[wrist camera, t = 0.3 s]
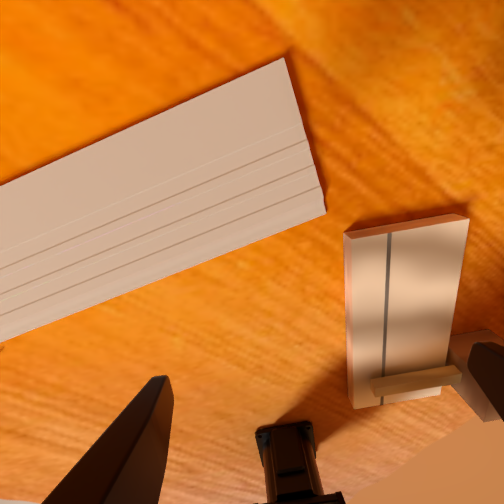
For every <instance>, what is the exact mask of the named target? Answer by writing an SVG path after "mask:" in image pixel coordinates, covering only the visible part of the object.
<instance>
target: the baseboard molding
mask: <svg viewBox="0 0 504 504" xmlns="http://www.w3.org/2000/svg"><path fill="white" fill-rule="evenodd" d="M323 199H324V196H323V192H322V189H321V186H320V183H319V179H318V176H317V173H316V168H315V165H314V162H313V159H312V155H311V152H310V147H309V143H308V140H307V138H306V134H305V131H304V127H303V124H302V119H301V115H300V112H299V109H298V105H297V102H296V98H295V95H294V91H293V88H292V84H291V81H290V77H289V74H288V70H287V67H286V63H285V60H284V57H283V58H281V59H279V60H277V61H274V62H272V63H270V64H268V65H266V66H263V67H261V68H259V69H257V70H255V71H252V72H250V73H248V74H246V75H244V76H241V77H239V78H237V79H235V80H233V81H230V82H228V83H226V84H224V85H222V86H219V87H217V88H215V89H213V90H211V91H208V92H206V93H204V94H202V95H200V96H197V97H195V98H193V99H191V100H189V101H186V102H184V103H182V104H180V105H178V106H175V107H173V108H171V109H169V110H167V111H164V112H162V113H160V114H158V115H156V116H154V117H151V118H149V119H147V120H145V121H143V122H140V123H138V124H136V125H134V126H132V127H129V128H127V129H125V130H123V131H121V132H118V133H116V134H114V135H112V136H110V137H107V138H105V139H103V140H101V141H99V142H96V143H94V144H92V145H90V146H88V147H85V148H83V149H81V150H79V151H77V152H74V153H72V154H70V155H68V156H66V157H63V158H61V159H59V160H57V161H55V162H52V163H50V164H48V165H46V166H44V167H41V168H39V169H37V170H35V171H33V172H30V173H28V174H26V175H24V176H22V177H19V178H17V179H15V180H13V181H11V182H8V183H6V184H4V185H2V186H0V342H3V341H5V340H8V339H10V338H13V337H15V336H18V335H21V334H23V333H26V332H28V331H31V330H33V329H36V328H38V327H41V326H43V325H46V324H48V323H51V322H53V321H56V320H58V319H61V318H64V317H66V316H69V315H71V314H74V313H76V312H79V311H81V310H84V309H86V308H89V307H91V306H94V305H96V304H99V303H101V302H104V301H107V300H109V299H112V298H114V297H117V296H119V295H122V294H124V293H127V292H129V291H132V290H134V289H137V288H139V287H142V286H144V285H147V284H149V283H152V282H155V281H157V280H160V279H162V278H165V277H167V276H170V275H172V274H175V273H177V272H180V271H182V270H185V269H187V268H190V267H192V266H195V265H198V264H200V263H203V262H205V261H208V260H210V259H213V258H215V257H218V256H220V255H223V254H225V253H228V252H230V251H233V250H235V249H238V248H241V247H243V246H246V245H248V244H251V243H253V242H256V241H258V240H261V239H263V238H266V237H268V236H271V235H273V234H276V233H278V232H281V231H283V230H286V229H289V228H291V227H294V226H296V225H299V224H301V223H304V222H306V221H309V220H311V219H314V218H316V217H319V216H321V215H324V214H326V210H325V206H324V200H323Z"/></svg>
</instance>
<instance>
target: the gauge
mask: <svg viewBox="0 0 504 504" xmlns="http://www.w3.org/2000/svg"><path fill="white" fill-rule="evenodd" d="M480 341H492V342H494V343H497V344H499V345H502V346H504V340H503V339H502V338H500V337H499V336H498V335H496V334H495V333H493V332H492V331H491V330H489V329H486V330H480V331H474V332H469V333H463V334H457V335H452V336H450V339H449V345H448V351H447V357H446V363H445V367H439V368H433V369H427V370H422V371H416V372H410V373H404V374H399V375H393V376H387V377H381V378H376V379H370V389H371V391H372V393H373V394H374V396H375V398H376V397H382V396H387V395H393V394H399V393H405V392H410V391H416V390H422V389H428V388H434V387H439V386H445V385H451V386H452V387H453V388H454V389H455V390H456V391H457V393H458V394H459V395H460V396H461V397H462V398H463V399H464V400H465V402H466V403H467V404H468V405H469V406H470V407H471V408H472V409H473V411H474V412H475V413H476V414H477V415H478V416H479V417H480V418H481V420H482V421H483V422H487V421H493V420H499V419H501V417H500V416H499V414H498V413H497V411H496V410H495V409H494V407H493V406H492V404H491V403H490V401H489V400H488V398H487V397H486V395H485V394H484V393H483V391H482V390H481V388H480V387H479V385H478V384H477V382H476V381H475V379H474V378H473V376H472V375H471V374H470V372H469V370H468V368H467V360H468V357H469V353H470V350H471V347H472V345H473V343H475V342H480Z"/></svg>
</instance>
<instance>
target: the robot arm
mask: <svg viewBox="0 0 504 504" xmlns="http://www.w3.org/2000/svg"><path fill="white" fill-rule="evenodd" d="M467 368H468V370H469V372H470V374H471V375H472V376H473V378H474V379H475V381H476V382H477V384H478V385H479V387H480V388H481V390H482V391H483V393H484V394H485V395H486V397H487V398H488V400H489V401H490V403H491V404H492V406H493V407H494V409H495V410H496V411H497V413H498V414H499V416H500V417H501V419H502V420H503V421H504V346H502V345H499V344H497V343H494V342H492V341H480V342H475V343H473V345H472V347H471V350H470V353H469V357H468V360H467ZM173 406H174V395H173V391H172V387H171V384H170V380H169V377H168V376H167V375H161V376H154V377H152V378H151V379H150V380H149V381H148V383H147V384H146V385H145V386H144V387H143V388H142V389H141V391H140V392H139V393H138V394H137V395H136V396H135V397H134V398H133V400H132V401H131V402H130V403H129V404H128V405H127V406H126V408H125V409H124V410H123V411H122V412H121V413H120V414H119V416H118V417H117V418H116V419H115V420H114V421H113V422H112V424H111V425H110V426H109V427H108V428H107V429H106V430H105V432H104V433H103V434H102V435H101V436H100V437H99V438H98V440H97V441H96V442H95V443H94V444H93V445H92V446H91V448H90V449H89V450H88V451H87V452H86V453H85V454H84V456H83V457H82V458H81V459H80V460H79V461H78V462H77V463H76V465H75V466H74V467H73V468H72V469H71V470H70V471H69V473H68V474H67V475H66V476H65V477H64V478H63V479H62V481H61V482H60V483H59V484H58V485H57V486H56V487H55V489H54V490H53V491H52V492H51V493H50V494H49V495H48V497H47V498H46V499H45V500H44V501H43V502H42V503H41V504H158V501H159V496H160V492H161V487H162V483H163V478H164V473H165V468H166V463H167V455H168V447H169V439H170V431H171V423H172V414H173ZM255 438H256V442H257V446H258V450H259V454H260V458H261V462H262V466H263V467H264V472H265V483H266V493H267V503H263V504H346V503H345V501H344V498H343V495H342V493H341V491H339V492H335V493H334V494H327V495H324V491H323V487H322V484H321V480H320V476H319V472H318V468H317V464H316V460H315V459H316V451H315V442H314V433H313V426H312V423H311V422H303V423H297V424H291V425H285V426H280V427H274V428H268V429H262V430H258V431H256V432H255ZM254 504H258V503H254Z"/></svg>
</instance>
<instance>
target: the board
mask: <svg viewBox="0 0 504 504" xmlns="http://www.w3.org/2000/svg"><path fill="white" fill-rule="evenodd" d="M469 220H470V219H469V218H467V217H464V216H461V215H458V214H455V213H452V214H446V215H440V216H435V217H429V218H423V219H418V220H412V221H406V222H401V223H395V224H389V225H384V226H378V227H372V228H366V229H361V230H355V231H349V232H344V233H343V239H344V275H345V312H346V348H347V384H348V397H349V400H350V402H351V404H352V406H353V409H360V408H366V407H372V406H377V405H383V404H389V403H395V402H400V401H406V400H412V399H418V398H423V397H429V396H435V395H440V392H441V386H439V387H434V388H428V389H422V390H416V391H410V392H405V393H399V394H393V395H387V396H382V397H376V398H375V396H374V394H373V393H372V391H371V389H370V379H376V378H381V377H387V376H393V375H399V374H404V373H410V372H416V371H422V370H427V369H433V368H439V367H445V363H446V357H447V351H448V345H449V339H450V333H451V327H452V321H453V315H454V309H455V303H456V297H457V291H458V286H459V280H460V274H461V268H462V262H463V256H464V250H465V244H466V238H467V232H468V226H469Z"/></svg>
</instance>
